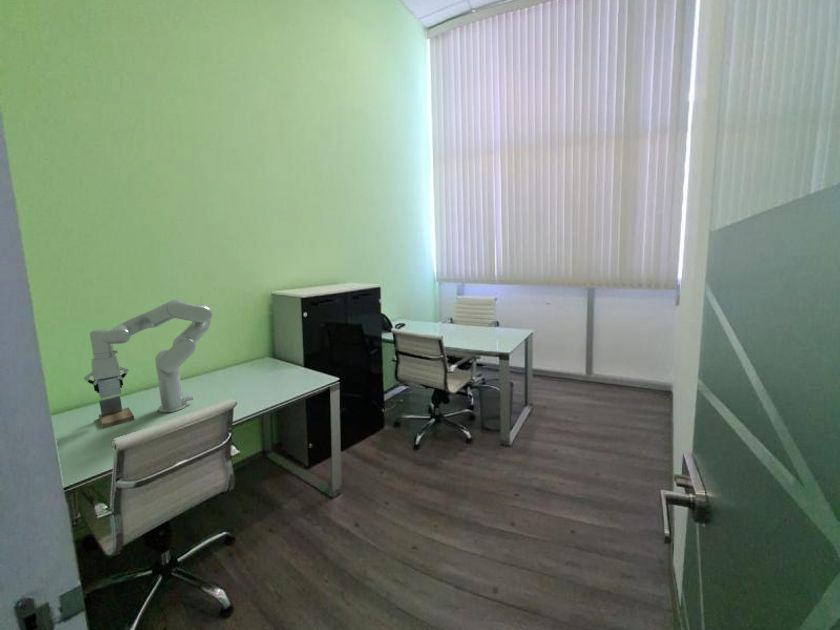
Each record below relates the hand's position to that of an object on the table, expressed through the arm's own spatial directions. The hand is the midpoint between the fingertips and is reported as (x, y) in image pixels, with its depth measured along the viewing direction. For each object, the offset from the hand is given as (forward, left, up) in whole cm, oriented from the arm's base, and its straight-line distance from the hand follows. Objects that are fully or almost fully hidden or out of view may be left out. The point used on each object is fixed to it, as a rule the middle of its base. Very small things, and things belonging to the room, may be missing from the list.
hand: (109, 389), depth 182 cm
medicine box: (0, 0, -3) cm, 3 cm away
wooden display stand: (-1, -1, -16) cm, 17 cm away
